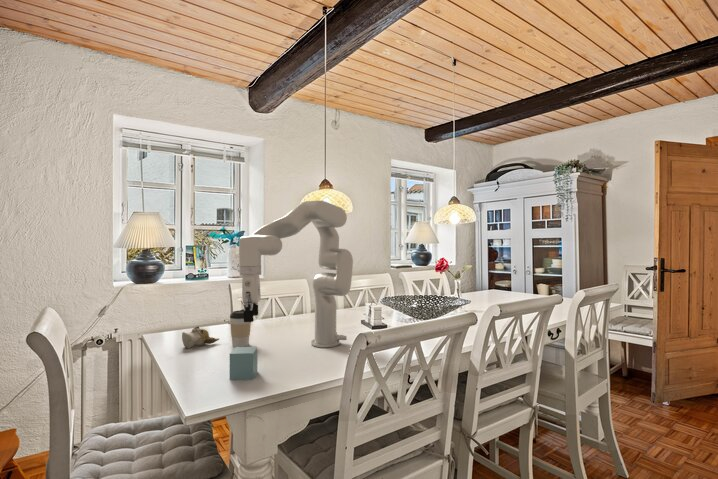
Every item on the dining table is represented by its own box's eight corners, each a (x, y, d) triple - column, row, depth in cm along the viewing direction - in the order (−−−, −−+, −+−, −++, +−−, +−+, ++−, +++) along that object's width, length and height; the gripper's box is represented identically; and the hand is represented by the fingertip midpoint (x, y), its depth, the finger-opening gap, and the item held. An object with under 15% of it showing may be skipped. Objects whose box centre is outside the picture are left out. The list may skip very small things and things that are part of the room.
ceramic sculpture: (175, 326, 170) (206, 322, 182) (174, 347, 170) (205, 341, 182) (190, 330, 164) (221, 326, 176) (188, 351, 164) (220, 345, 176)
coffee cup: (245, 348, 168) (245, 313, 168) (225, 347, 170) (225, 312, 170) (254, 342, 177) (254, 309, 177) (236, 341, 179) (236, 308, 179)
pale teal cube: (257, 371, 141) (257, 346, 141) (253, 379, 133) (253, 353, 133) (235, 371, 140) (235, 347, 140) (229, 379, 132) (229, 353, 132)
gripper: (257, 273, 133) (257, 324, 134) (264, 268, 150) (265, 313, 151) (234, 273, 132) (235, 324, 133) (244, 268, 150) (245, 313, 150)
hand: (251, 318), depth 142 cm, fingers open, 9 cm apart
